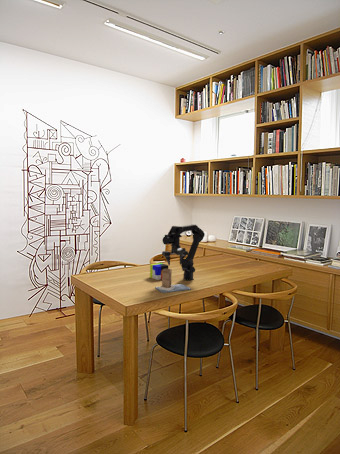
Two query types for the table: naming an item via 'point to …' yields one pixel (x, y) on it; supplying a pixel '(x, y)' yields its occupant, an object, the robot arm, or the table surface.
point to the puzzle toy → (157, 270)
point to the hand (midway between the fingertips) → (174, 265)
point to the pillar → (166, 278)
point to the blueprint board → (173, 288)
